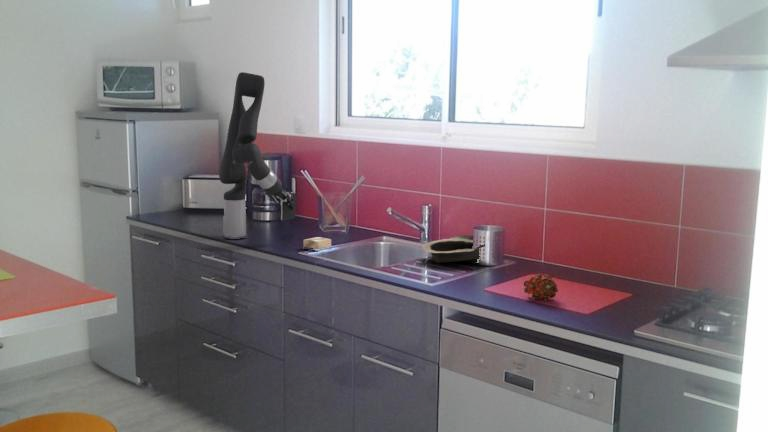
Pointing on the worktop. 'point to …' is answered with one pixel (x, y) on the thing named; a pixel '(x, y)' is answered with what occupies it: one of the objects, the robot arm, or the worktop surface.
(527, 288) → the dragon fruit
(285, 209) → the battery
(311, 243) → the oak slab
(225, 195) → the robot arm
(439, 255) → the stone bowl
